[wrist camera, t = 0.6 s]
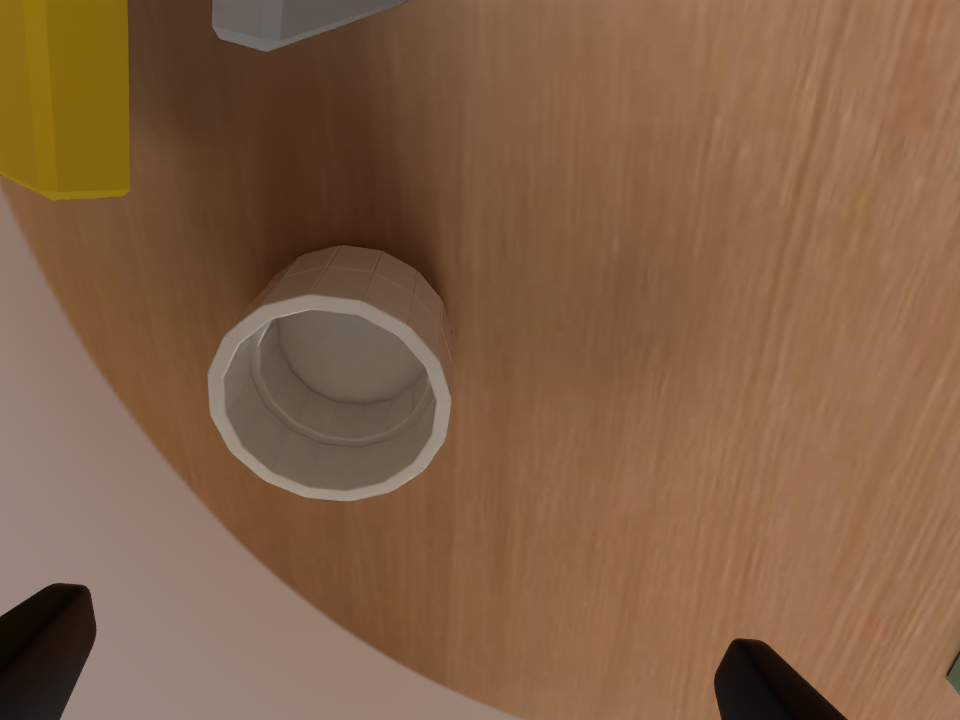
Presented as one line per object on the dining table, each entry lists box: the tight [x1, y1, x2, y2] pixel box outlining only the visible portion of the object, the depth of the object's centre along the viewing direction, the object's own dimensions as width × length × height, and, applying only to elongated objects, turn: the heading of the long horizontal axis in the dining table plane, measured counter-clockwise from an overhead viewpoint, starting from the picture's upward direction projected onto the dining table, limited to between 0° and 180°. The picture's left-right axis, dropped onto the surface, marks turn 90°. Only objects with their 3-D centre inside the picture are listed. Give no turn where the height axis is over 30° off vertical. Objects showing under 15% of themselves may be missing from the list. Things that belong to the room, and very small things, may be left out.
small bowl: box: [207, 245, 452, 501], centre depth 17 cm, size 6×6×5 cm
